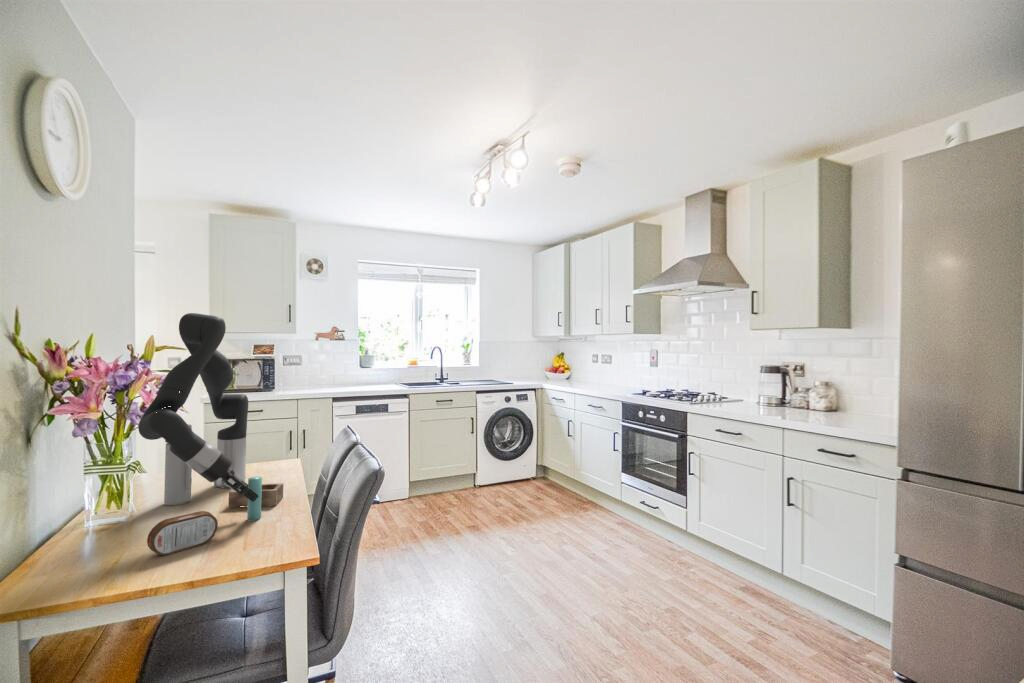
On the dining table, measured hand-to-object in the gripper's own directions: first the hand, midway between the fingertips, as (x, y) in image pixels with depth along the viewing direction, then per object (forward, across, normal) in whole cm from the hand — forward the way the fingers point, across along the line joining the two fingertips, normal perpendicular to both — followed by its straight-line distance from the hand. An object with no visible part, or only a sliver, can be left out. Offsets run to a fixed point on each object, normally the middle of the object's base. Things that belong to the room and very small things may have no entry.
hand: (253, 495), depth 142 cm
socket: (+8, +15, +2) cm, 17 cm away
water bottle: (-6, +29, +16) cm, 34 cm away
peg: (+5, 0, +5) cm, 7 cm away
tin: (-7, -13, +18) cm, 23 cm away
